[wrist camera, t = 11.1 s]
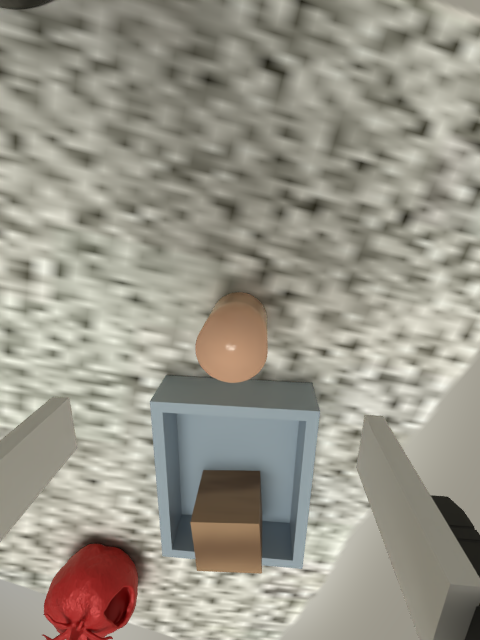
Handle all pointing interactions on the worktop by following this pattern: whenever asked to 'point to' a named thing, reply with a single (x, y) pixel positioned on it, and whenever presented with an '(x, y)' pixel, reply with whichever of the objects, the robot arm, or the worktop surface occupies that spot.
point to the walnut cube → (228, 522)
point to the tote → (236, 455)
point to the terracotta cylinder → (234, 339)
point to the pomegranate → (92, 594)
